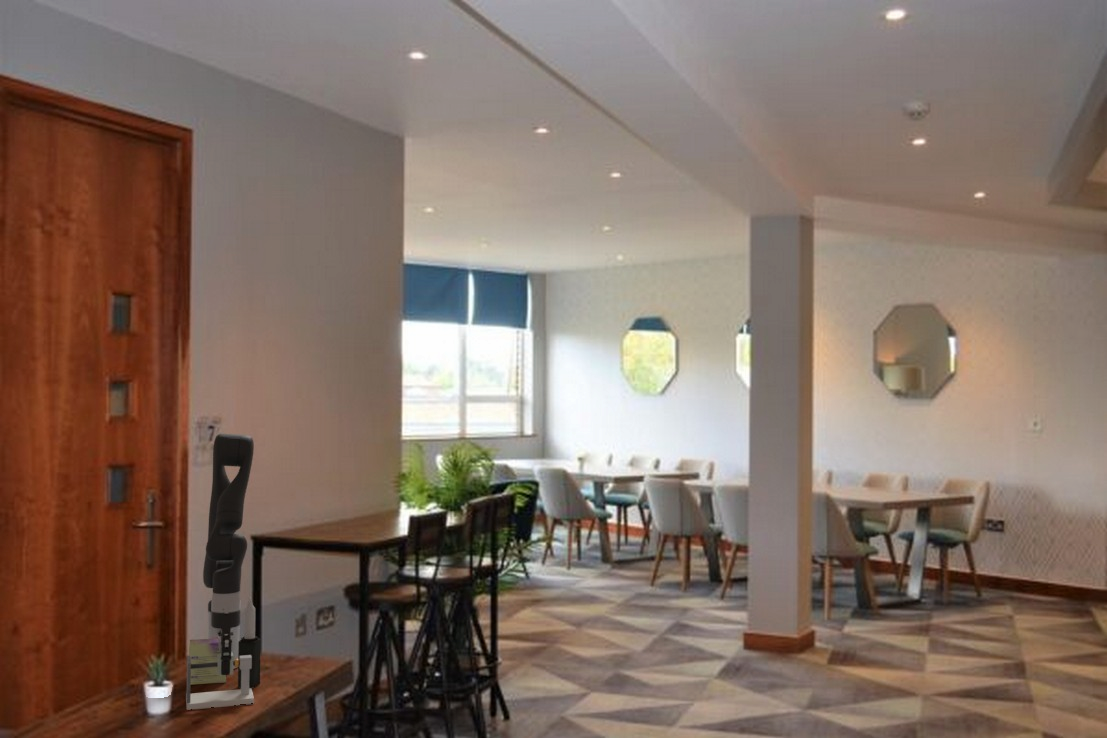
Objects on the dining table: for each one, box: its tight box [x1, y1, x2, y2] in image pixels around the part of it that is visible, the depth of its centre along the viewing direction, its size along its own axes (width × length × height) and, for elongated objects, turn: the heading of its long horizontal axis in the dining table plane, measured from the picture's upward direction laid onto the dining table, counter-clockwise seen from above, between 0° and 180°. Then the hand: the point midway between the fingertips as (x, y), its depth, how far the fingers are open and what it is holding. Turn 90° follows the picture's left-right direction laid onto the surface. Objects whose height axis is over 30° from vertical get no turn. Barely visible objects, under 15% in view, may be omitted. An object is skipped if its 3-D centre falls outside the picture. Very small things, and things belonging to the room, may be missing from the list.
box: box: [188, 638, 227, 686], centre depth 302 cm, size 10×6×12 cm, turn 108°
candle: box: [237, 596, 262, 689], centre depth 298 cm, size 5×5×25 cm
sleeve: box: [217, 652, 234, 676], centre depth 282 cm, size 4×4×5 cm
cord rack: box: [185, 655, 255, 711], centre depth 282 cm, size 10×17×12 cm, turn 110°
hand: (225, 672), depth 282 cm, fingers closed on sleeve, 4 cm apart
